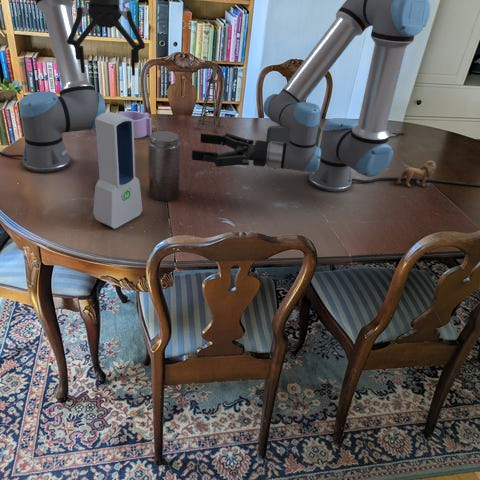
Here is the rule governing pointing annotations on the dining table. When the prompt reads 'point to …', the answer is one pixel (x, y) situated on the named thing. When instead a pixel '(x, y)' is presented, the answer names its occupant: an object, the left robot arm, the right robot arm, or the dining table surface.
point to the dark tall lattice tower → (211, 81)
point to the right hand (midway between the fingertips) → (196, 146)
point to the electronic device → (116, 171)
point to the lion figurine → (418, 173)
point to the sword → (395, 134)
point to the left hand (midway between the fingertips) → (108, 73)
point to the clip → (139, 122)
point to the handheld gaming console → (284, 135)
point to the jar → (164, 165)
